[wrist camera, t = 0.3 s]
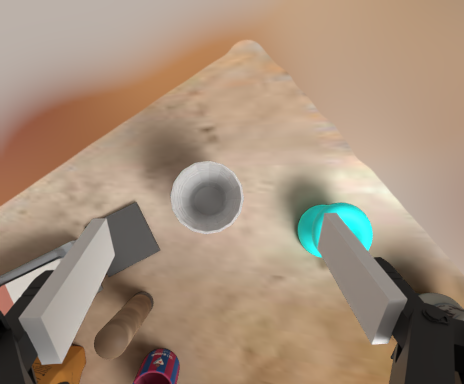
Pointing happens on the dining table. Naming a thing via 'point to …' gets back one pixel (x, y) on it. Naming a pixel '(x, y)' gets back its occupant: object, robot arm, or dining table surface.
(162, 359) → the cup
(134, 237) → the mat
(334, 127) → the dining table surface
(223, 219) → the plastic cup
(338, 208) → the donuts
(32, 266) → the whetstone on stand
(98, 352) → the wooden pestle
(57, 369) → the coffee package
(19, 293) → the rocker
